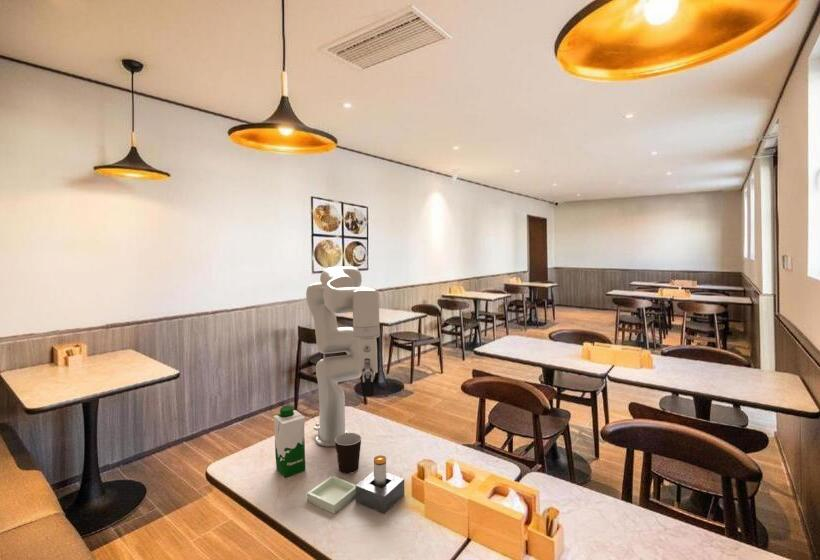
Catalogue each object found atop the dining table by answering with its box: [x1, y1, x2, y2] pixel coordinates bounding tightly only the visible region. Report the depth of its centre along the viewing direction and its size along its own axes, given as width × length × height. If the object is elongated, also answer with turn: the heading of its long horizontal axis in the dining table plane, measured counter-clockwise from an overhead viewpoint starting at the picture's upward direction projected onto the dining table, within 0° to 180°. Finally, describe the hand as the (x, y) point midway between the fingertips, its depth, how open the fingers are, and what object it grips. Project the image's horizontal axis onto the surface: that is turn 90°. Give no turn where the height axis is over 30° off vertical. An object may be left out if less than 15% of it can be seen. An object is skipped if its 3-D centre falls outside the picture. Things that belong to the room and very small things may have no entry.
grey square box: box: [355, 470, 405, 515], centre depth 114 cm, size 10×10×5 cm
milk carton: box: [273, 405, 306, 479], centre depth 129 cm, size 9×9×20 cm
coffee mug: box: [334, 432, 362, 475], centre depth 132 cm, size 12×9×10 cm
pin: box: [373, 455, 387, 488], centre depth 114 cm, size 4×4×12 cm
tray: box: [306, 475, 357, 515], centre depth 115 cm, size 10×10×2 cm
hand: (368, 390), depth 115 cm, fingers open, 9 cm apart
